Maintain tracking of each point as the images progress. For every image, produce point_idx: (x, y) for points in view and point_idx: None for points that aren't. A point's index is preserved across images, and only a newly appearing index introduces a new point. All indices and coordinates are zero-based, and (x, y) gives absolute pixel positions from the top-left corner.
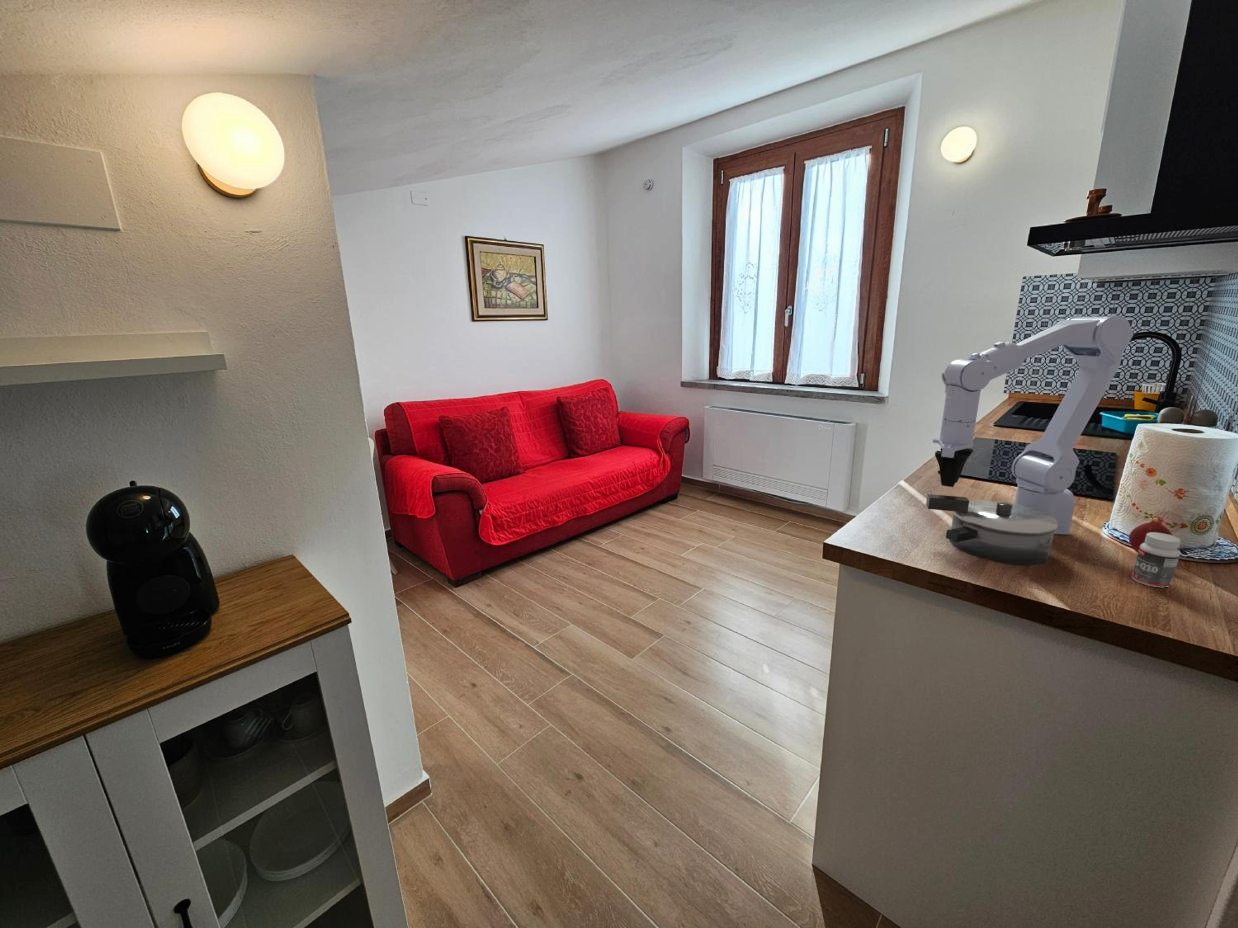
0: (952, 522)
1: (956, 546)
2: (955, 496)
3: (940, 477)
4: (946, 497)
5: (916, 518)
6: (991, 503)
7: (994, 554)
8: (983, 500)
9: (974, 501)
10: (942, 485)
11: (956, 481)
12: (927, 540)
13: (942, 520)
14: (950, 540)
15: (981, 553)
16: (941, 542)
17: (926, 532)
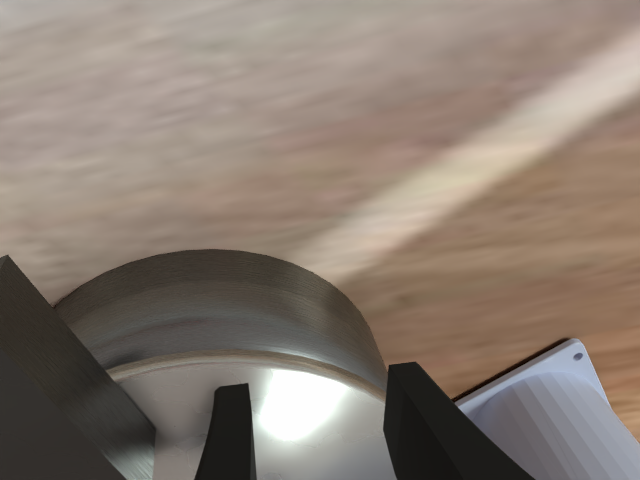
0: (128, 324)
1: (55, 309)
2: (106, 464)
3: (212, 439)
4: (12, 441)
5: (387, 25)
6: (379, 471)
7: None
8: None
9: (363, 417)
10: (214, 393)
11: (386, 439)
12: (35, 182)
13: (433, 155)
14: (115, 271)
15: None
16: (69, 241)
17: (166, 143)
